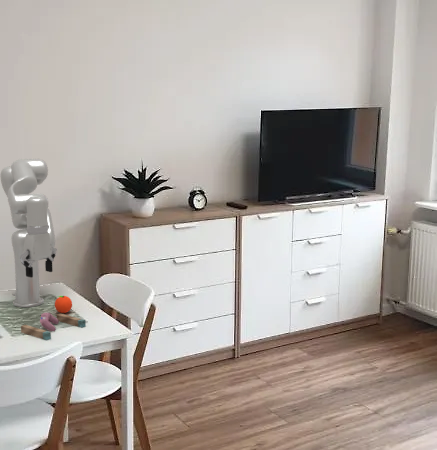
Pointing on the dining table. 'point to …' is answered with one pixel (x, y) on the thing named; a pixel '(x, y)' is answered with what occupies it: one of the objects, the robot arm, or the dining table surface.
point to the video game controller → (48, 321)
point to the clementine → (63, 304)
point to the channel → (47, 335)
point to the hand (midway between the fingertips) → (39, 274)
